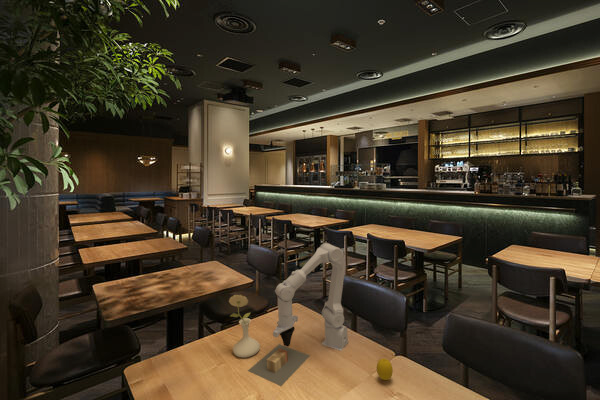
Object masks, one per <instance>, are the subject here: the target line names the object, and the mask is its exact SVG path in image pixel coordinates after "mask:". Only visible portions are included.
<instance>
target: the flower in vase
mask: <svg viewBox="0 0 600 400" xmlns="http://www.w3.org/2000/svg"><path fill="white" fill-rule="evenodd" d="M228 302H229V304H230V305H231V306H234V307H237V313H234V312H233V313H232V314H230V315H229V317H231V318H232V317H234V318H238V317H240V319H239V321H238V323H239V324H240V325H241V328H242V338H241V339H239V340H238V341H237V342H236V343H235V344H234V346H233V348H232V352H233V354H234V355H235V356H236V357H239V358H249V357H252V356H254V355H256V354H257V353H258V352H259V350H260V348H261V345H260V343H259V341H257V340H256V339H254V338H253V337H251V336H250V335H249V326H250V324H251V322H252V319H250V318H248V317H249V316H250V315H251V312H247V313H245V314H244V315H243V316H241V315H240V311H239V310H240V308H242V307H245V306H247V305H248V303H249V299H248V297H246V296H245V295H242V294H234V295H233V296H231V297H229V300H228Z"/></svg>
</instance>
